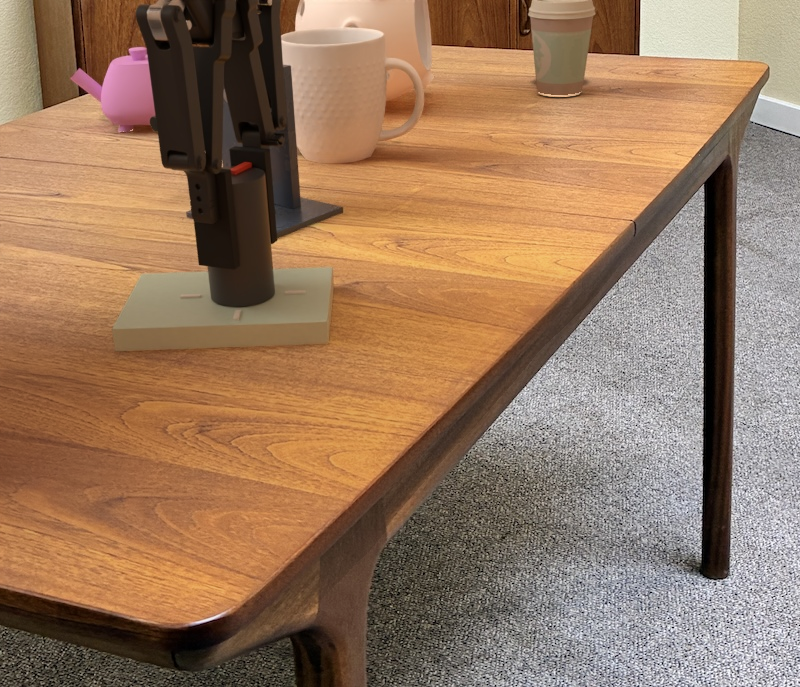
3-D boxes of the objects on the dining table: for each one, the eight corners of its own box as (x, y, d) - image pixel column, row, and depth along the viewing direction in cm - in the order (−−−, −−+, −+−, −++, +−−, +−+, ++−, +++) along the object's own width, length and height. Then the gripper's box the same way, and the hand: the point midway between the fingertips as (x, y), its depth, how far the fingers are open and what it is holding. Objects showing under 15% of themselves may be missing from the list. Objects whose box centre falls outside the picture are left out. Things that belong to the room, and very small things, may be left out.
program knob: (253, 310, 74) (242, 182, 70) (198, 302, 75) (183, 176, 72) (286, 287, 77) (276, 164, 74) (232, 279, 79) (220, 159, 75)
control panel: (117, 370, 73) (110, 326, 72) (146, 311, 82) (141, 271, 81) (329, 362, 73) (326, 318, 72) (335, 304, 82) (332, 264, 81)
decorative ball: (320, 90, 151) (310, -62, 143) (444, 90, 149) (442, -65, 140) (283, 125, 133) (270, -46, 125) (424, 126, 131) (420, -49, 123)
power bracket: (187, 224, 100) (169, 70, 94) (258, 199, 107) (245, 53, 101) (273, 247, 94) (259, 84, 88) (343, 219, 100) (335, 65, 94)
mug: (423, 144, 123) (420, 23, 118) (427, 171, 113) (425, 41, 108) (289, 148, 123) (281, 28, 118) (282, 176, 113) (272, 46, 108)
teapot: (196, 133, 131) (187, 53, 127) (68, 138, 131) (56, 58, 127) (206, 113, 140) (198, 38, 137) (87, 118, 140) (76, 43, 136)
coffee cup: (532, 85, 150) (534, -7, 145) (596, 87, 147) (600, -7, 142) (521, 99, 142) (522, 3, 137) (588, 101, 140) (592, 3, 135)
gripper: (223, -126, 74) (254, 209, 84) (55, -112, 59) (116, 292, 69) (325, -128, 71) (344, 218, 81) (174, -114, 57) (220, 307, 66)
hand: (239, 251), depth 75 cm, fingers closed on program knob, 4 cm apart
